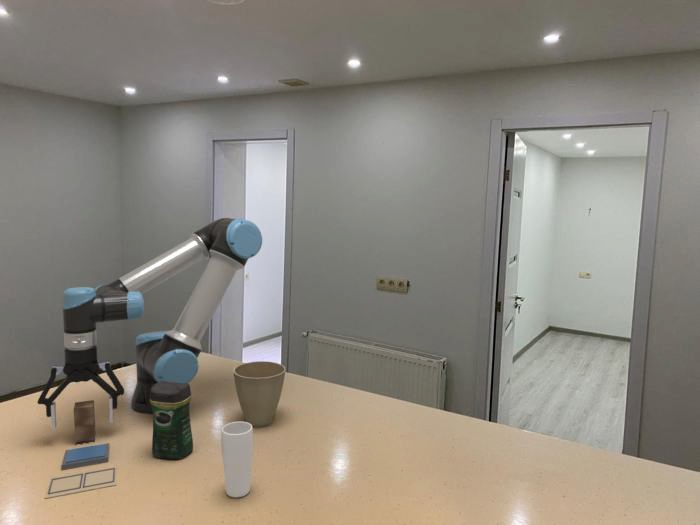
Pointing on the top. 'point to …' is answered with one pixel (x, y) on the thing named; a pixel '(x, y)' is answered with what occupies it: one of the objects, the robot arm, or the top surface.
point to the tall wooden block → (84, 422)
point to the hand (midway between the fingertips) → (83, 424)
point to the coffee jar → (171, 420)
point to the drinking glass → (237, 457)
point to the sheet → (81, 481)
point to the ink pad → (86, 456)
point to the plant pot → (259, 390)
